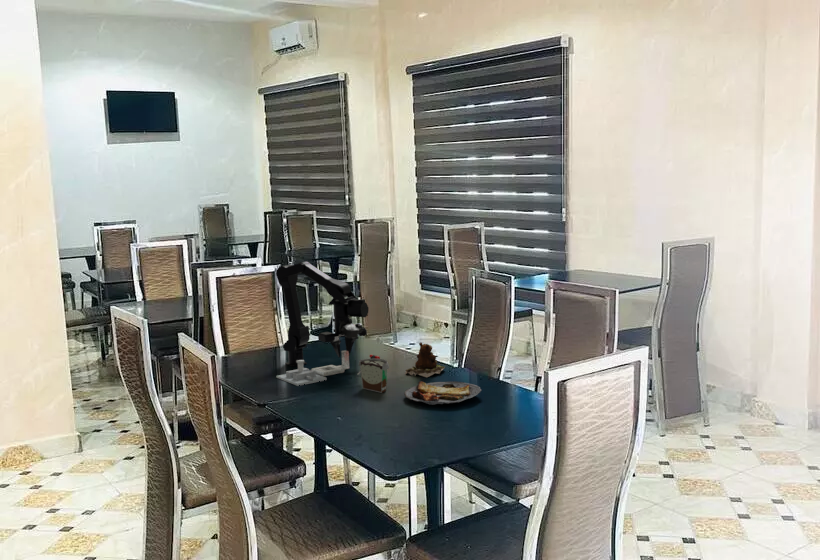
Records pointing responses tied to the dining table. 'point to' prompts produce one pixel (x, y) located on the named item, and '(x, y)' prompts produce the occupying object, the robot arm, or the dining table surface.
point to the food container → (374, 374)
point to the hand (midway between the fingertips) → (343, 356)
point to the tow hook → (371, 358)
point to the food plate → (442, 392)
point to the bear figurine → (425, 362)
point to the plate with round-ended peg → (301, 375)
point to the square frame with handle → (334, 369)
